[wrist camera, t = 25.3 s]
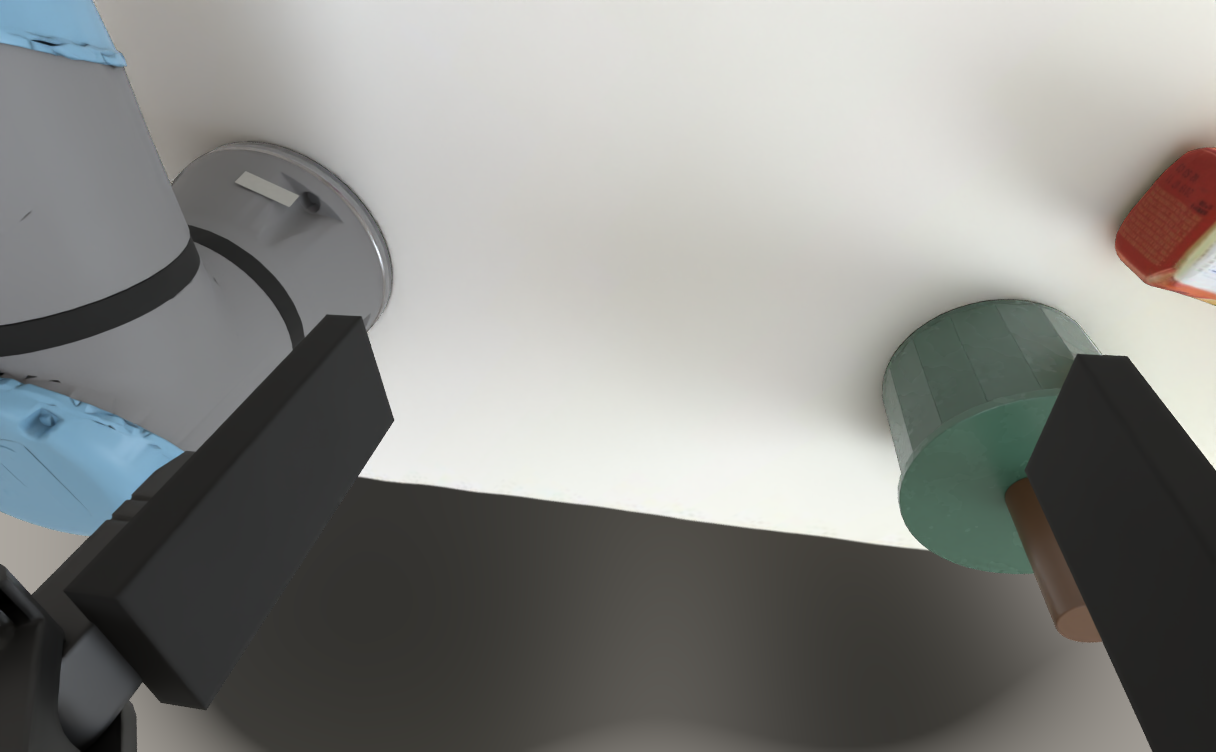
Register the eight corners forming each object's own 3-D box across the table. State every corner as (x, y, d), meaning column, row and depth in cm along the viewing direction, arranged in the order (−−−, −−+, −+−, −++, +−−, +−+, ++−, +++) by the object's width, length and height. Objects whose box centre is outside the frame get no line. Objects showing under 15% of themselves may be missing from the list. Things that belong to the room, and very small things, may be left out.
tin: (867, 443, 49) (888, 547, 42) (904, 294, 42) (937, 388, 34) (1053, 457, 47) (1111, 569, 40) (1127, 303, 40) (1216, 405, 32)
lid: (875, 545, 43) (900, 683, 36) (926, 372, 34) (972, 505, 27) (1114, 569, 40) (1193, 721, 33) (1229, 389, 32) (1368, 539, 25)
